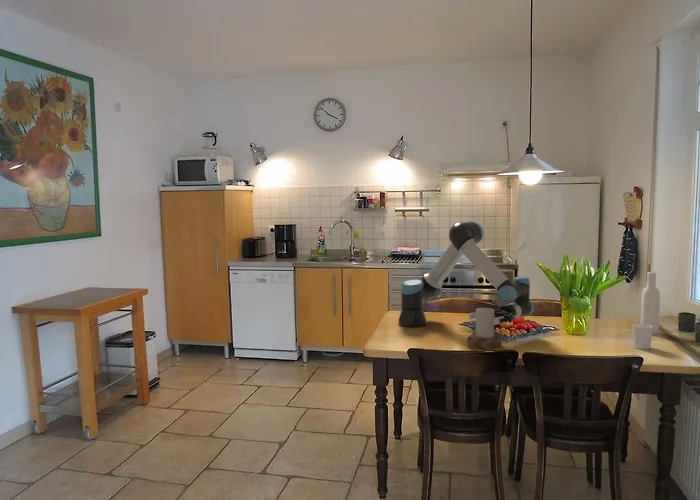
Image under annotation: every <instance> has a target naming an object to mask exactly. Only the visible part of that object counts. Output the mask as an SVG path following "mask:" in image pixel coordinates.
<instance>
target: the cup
mask: <svg viewBox="0 0 700 500" xmlns="http://www.w3.org/2000/svg"><path fill="white" fill-rule="evenodd" d="M475 310H476V318H475V331H476V336H478V337H482V338H491V337H494V333H495V325H494V318H495V317H494V310H495V308H491V307H478V308H476V309H475Z"/></svg>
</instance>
